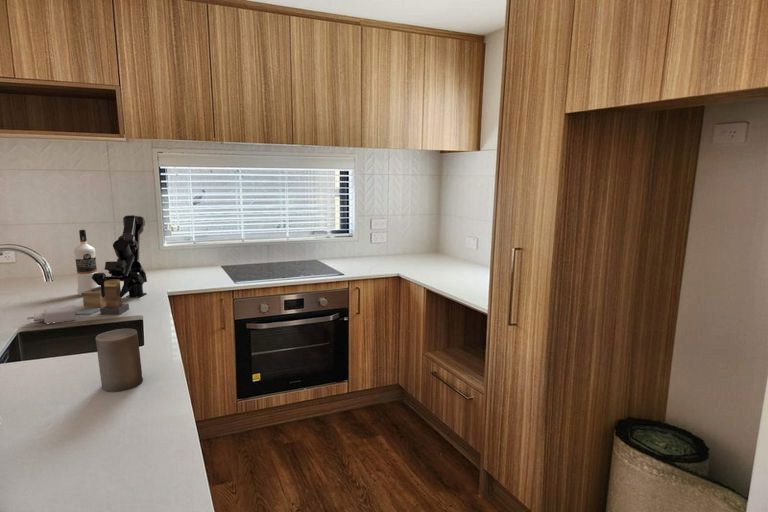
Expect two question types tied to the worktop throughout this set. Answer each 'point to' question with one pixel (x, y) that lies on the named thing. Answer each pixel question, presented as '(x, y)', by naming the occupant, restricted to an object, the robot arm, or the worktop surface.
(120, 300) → the brown rectangular block
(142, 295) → the robot arm
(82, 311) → the rubber mat
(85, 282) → the vodka
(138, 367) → the pillar candle
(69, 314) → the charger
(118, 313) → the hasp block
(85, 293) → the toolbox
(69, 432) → the worktop surface
